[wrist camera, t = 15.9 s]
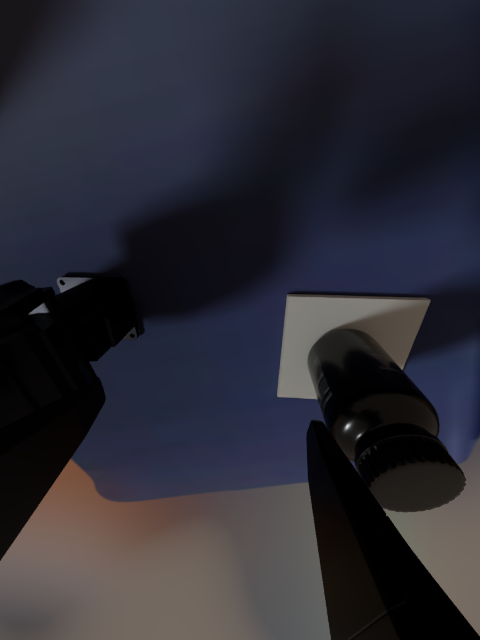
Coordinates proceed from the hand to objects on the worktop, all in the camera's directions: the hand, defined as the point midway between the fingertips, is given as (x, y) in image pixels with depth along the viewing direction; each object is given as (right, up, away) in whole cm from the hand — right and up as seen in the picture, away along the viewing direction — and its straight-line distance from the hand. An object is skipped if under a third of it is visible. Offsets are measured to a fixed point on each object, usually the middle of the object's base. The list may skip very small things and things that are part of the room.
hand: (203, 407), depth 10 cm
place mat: (+12, 0, +14) cm, 18 cm away
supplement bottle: (+12, 0, +13) cm, 18 cm away
